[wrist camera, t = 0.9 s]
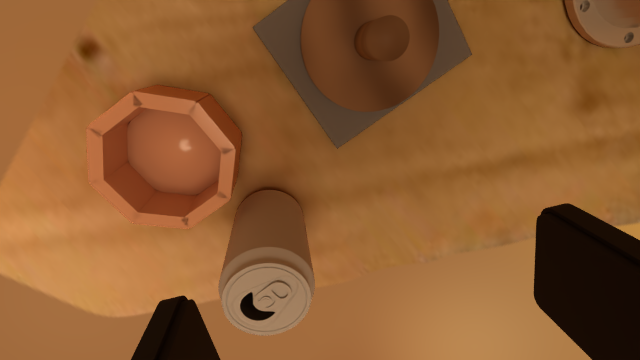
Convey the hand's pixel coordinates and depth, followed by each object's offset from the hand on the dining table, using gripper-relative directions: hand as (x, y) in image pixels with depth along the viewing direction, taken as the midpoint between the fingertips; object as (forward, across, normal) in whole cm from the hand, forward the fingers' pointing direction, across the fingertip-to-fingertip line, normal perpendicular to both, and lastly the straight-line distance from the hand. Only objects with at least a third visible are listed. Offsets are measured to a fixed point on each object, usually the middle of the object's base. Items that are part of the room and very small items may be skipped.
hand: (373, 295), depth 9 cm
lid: (+22, -6, -6) cm, 23 cm away
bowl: (+22, +11, -1) cm, 25 cm away
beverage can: (+22, +6, +8) cm, 24 cm away
